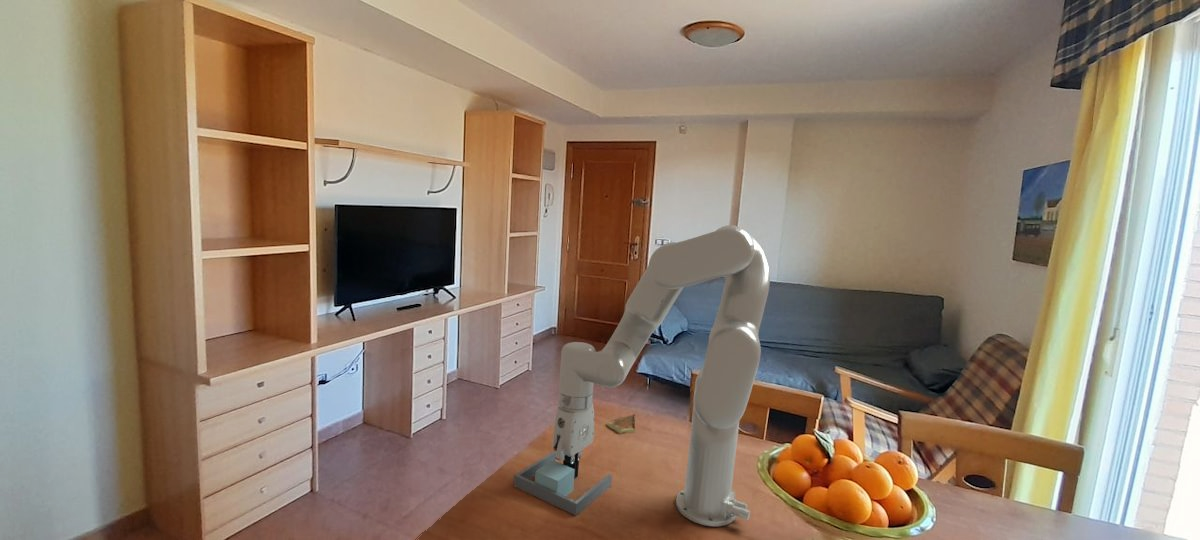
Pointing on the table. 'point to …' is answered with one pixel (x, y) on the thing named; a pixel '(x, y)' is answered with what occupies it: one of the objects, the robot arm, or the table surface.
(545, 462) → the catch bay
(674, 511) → the table surface
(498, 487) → the table surface
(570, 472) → the teal block
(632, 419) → the shard
